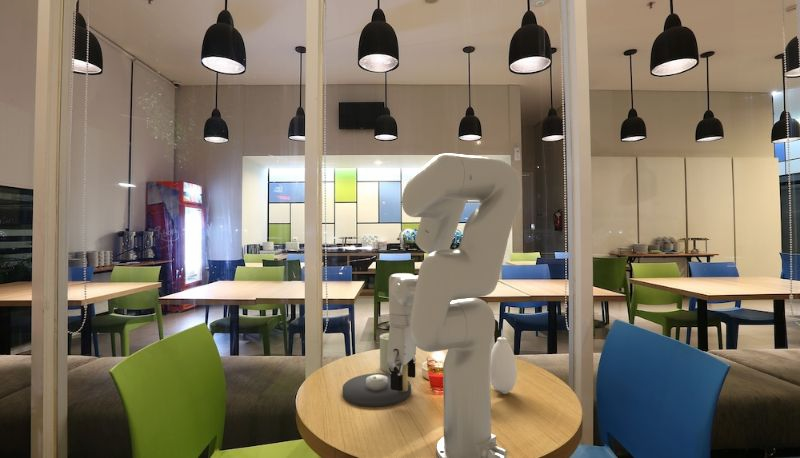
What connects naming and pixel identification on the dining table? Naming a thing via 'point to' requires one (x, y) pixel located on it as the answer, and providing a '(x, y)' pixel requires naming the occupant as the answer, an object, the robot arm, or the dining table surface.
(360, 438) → the dining table surface
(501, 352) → the sauce bottle
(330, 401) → the dining table surface
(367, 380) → the wheel
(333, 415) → the dining table surface
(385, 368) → the can
